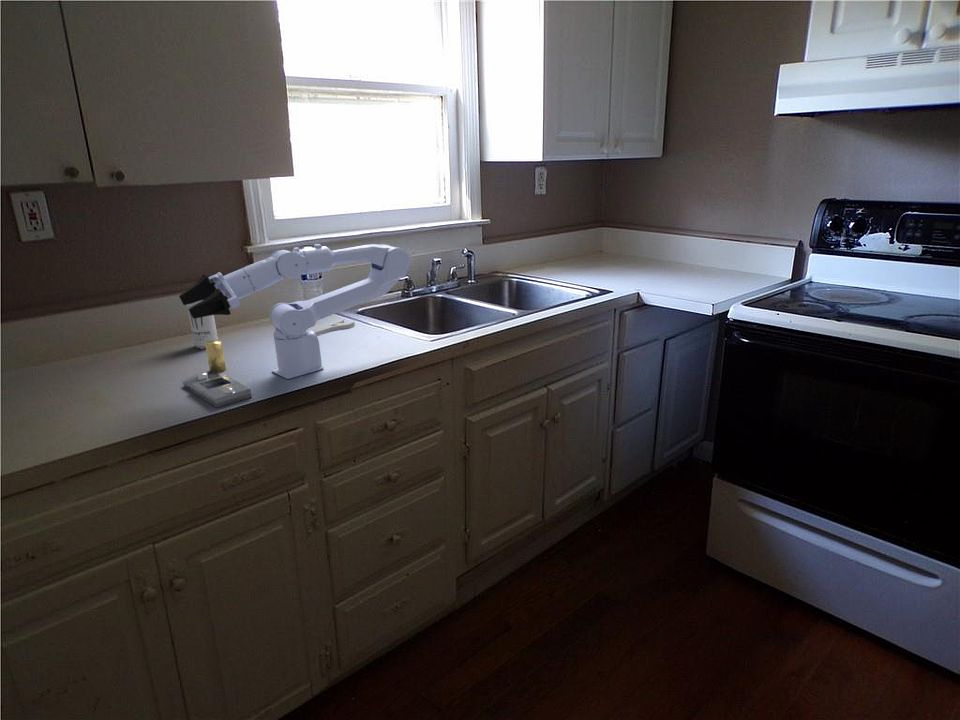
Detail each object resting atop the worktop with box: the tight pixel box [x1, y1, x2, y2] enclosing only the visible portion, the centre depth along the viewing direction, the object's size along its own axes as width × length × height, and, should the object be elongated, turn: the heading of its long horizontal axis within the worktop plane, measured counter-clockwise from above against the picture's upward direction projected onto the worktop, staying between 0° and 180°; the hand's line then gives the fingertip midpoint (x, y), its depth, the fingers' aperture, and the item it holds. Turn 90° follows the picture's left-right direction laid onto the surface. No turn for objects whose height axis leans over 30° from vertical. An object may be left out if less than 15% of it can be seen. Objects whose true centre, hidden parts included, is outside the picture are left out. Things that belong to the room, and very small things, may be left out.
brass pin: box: [205, 339, 227, 374], centre depth 148 cm, size 4×4×7 cm
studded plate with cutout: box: [182, 371, 252, 408], centre depth 135 cm, size 7×18×2 cm, turn 44°
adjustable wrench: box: [311, 319, 356, 337], centre depth 176 cm, size 25×6×2 cm, turn 137°
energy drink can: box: [186, 300, 219, 350], centre depth 165 cm, size 6×6×15 cm
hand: (185, 307), depth 130 cm, fingers open, 7 cm apart
